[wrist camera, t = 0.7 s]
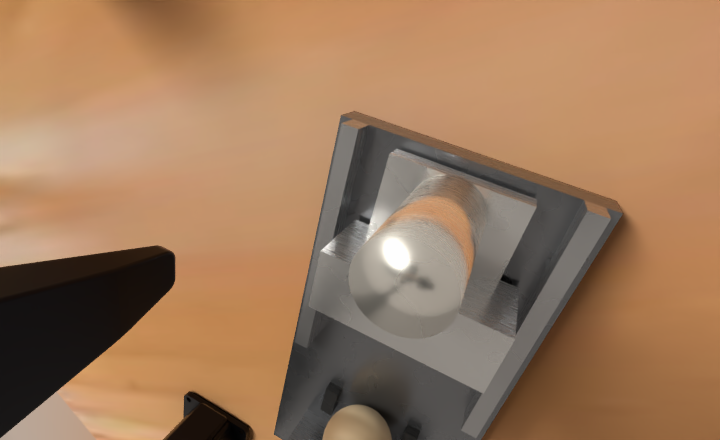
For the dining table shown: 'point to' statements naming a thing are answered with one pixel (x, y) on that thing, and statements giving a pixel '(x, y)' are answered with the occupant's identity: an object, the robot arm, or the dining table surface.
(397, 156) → the ram
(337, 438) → the tan ball
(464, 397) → the press base
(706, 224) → the dining table surface
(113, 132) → the dining table surface
